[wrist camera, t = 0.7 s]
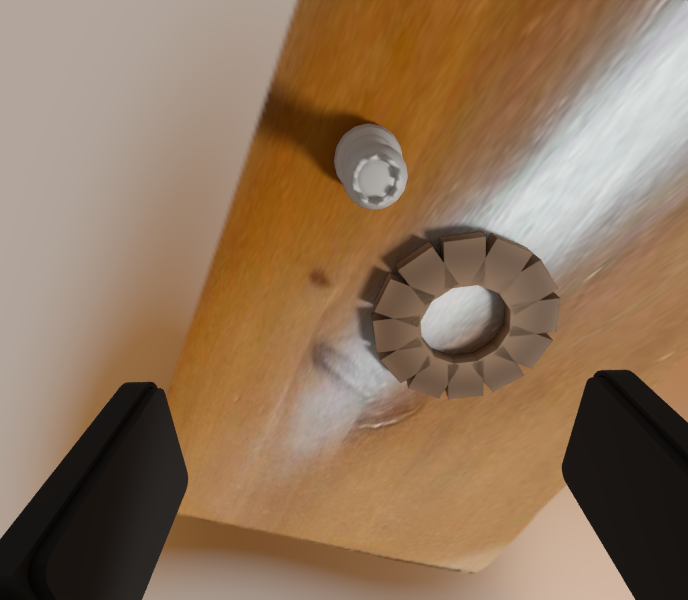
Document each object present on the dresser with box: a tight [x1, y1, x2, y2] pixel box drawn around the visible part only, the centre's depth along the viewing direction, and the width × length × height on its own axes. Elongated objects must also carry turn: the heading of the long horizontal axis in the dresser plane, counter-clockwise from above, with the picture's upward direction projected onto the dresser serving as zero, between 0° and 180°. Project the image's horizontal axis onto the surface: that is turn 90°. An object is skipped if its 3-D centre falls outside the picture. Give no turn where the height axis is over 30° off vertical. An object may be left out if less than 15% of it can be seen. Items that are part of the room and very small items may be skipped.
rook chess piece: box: [334, 123, 408, 210], centre depth 23 cm, size 4×4×8 cm
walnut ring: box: [372, 232, 560, 399], centre depth 31 cm, size 14×14×1 cm
